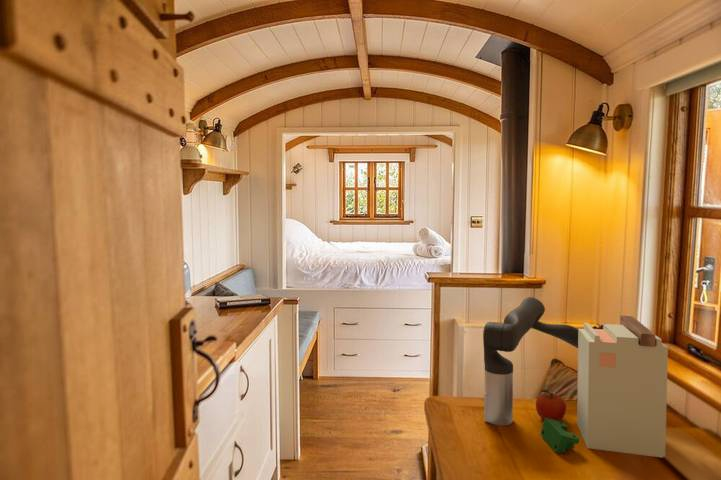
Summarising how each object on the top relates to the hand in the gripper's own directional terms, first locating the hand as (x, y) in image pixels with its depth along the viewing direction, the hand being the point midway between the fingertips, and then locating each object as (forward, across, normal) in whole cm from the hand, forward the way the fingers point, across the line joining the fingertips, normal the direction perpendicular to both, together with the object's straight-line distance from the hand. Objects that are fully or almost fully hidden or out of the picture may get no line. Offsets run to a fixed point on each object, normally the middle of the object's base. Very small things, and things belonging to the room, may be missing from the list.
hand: (619, 327), depth 151 cm
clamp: (+9, -22, +41) cm, 47 cm away
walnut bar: (+15, 0, +7) cm, 17 cm away
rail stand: (+2, -5, +36) cm, 37 cm away
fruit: (-6, -23, +32) cm, 40 cm away
